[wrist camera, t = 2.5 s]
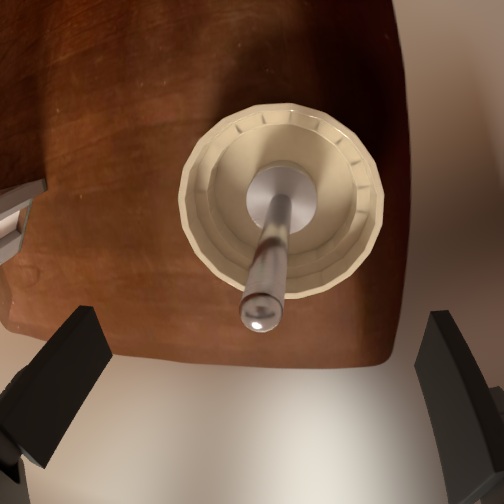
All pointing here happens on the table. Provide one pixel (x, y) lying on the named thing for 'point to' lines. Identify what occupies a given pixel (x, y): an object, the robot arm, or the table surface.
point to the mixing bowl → (243, 171)
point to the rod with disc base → (274, 237)
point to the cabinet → (16, 215)
